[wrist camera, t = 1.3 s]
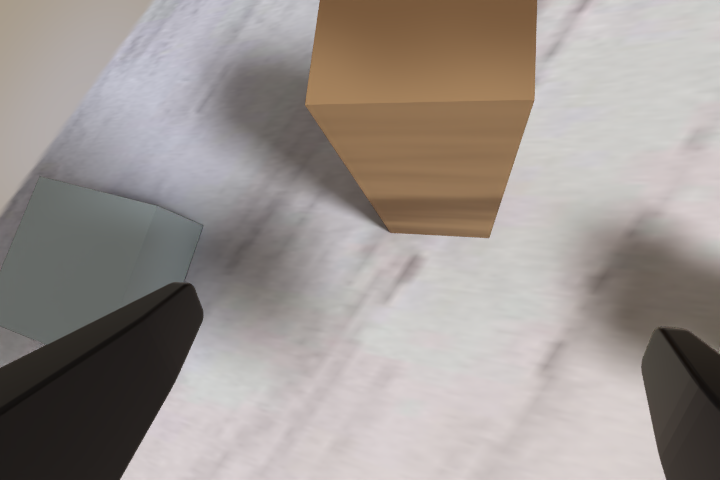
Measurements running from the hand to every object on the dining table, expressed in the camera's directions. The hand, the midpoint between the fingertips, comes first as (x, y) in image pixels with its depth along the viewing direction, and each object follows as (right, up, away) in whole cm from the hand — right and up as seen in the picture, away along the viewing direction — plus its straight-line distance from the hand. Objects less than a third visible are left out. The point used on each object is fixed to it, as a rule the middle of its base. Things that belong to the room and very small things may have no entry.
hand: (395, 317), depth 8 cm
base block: (-15, 0, +17) cm, 22 cm away
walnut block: (+4, +4, +14) cm, 15 cm away
